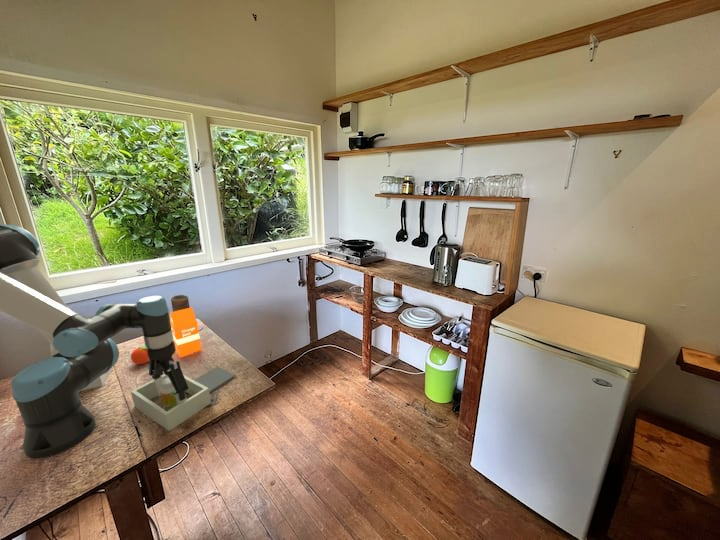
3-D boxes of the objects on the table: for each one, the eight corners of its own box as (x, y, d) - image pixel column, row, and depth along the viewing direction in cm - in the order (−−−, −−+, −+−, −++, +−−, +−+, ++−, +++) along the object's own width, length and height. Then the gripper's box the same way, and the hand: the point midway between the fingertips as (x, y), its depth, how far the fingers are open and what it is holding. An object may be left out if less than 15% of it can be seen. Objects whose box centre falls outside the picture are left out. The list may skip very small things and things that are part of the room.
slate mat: (210, 392, 107) (209, 391, 107) (191, 383, 112) (191, 381, 112) (235, 376, 116) (235, 374, 116) (217, 368, 121) (217, 366, 121)
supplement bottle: (171, 412, 98) (166, 387, 95) (159, 408, 100) (154, 383, 97) (185, 401, 103) (181, 377, 100) (174, 397, 105) (169, 374, 102)
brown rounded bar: (189, 329, 154) (183, 293, 148) (197, 333, 150) (190, 296, 144) (174, 335, 148) (166, 297, 142) (181, 339, 144) (174, 301, 138)
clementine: (157, 356, 130) (154, 342, 128) (152, 365, 123) (149, 350, 121) (136, 359, 127) (132, 345, 125) (130, 369, 121) (126, 353, 119)
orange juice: (175, 350, 134) (167, 309, 129) (197, 343, 140) (190, 304, 134) (180, 357, 129) (171, 315, 123) (202, 350, 134) (195, 309, 129)
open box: (169, 431, 90) (165, 414, 89) (134, 406, 100) (130, 391, 99) (211, 402, 102) (208, 388, 100) (176, 383, 112) (173, 369, 110)
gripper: (194, 348, 92) (204, 406, 98) (153, 329, 104) (164, 382, 110) (169, 360, 86) (181, 421, 92) (128, 339, 97) (141, 394, 103)
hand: (172, 400), depth 101 cm, fingers open, 12 cm apart
